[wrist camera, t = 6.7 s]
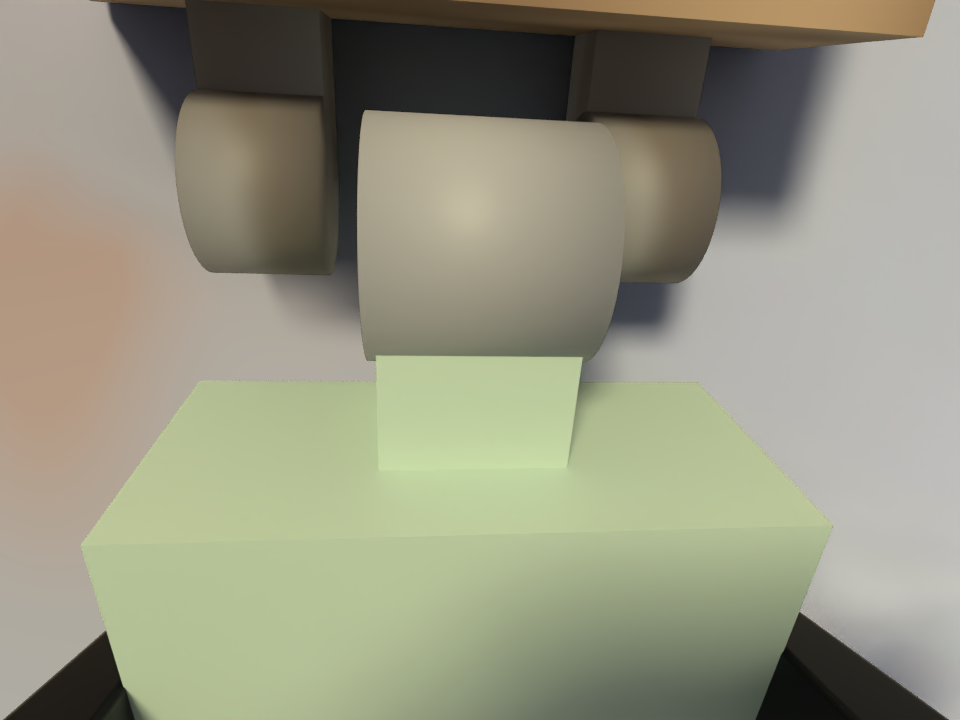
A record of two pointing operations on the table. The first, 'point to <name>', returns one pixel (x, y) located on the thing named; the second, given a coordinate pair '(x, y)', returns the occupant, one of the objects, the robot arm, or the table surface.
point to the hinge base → (491, 6)
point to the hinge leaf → (460, 483)
